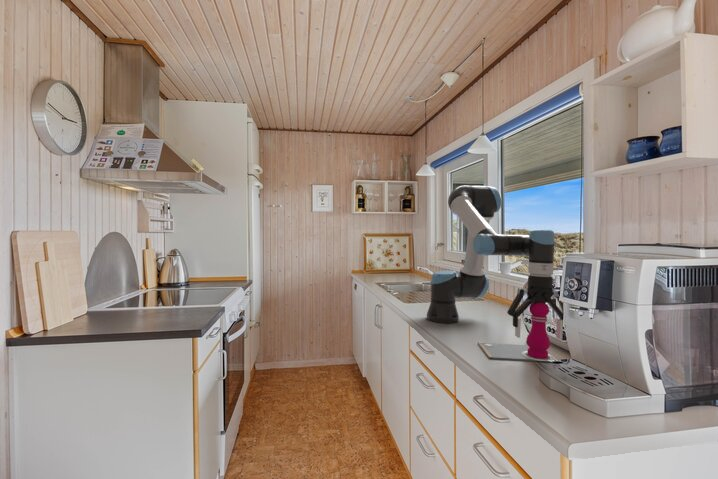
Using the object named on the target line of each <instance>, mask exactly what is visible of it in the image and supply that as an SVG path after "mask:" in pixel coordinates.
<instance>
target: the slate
mask: <svg viewBox="0 0 718 479" xmlns="http://www.w3.org/2000/svg"><path fill="white" fill-rule="evenodd" d="M477 345H478V347H479V348H480V349H481V350H482V351H483V353H484V354H485V356H486V357H487V358H488V359H489V360H497V361H498V360H501V361H504V360H505V361H520V362H536V361H548V360H558V359H557V358H556V357H554V356H553V355H552V354H550V353H549V352H548V358H545V359H540V358H534V357H531V356H529V355H528V348H529V346H528V345H527V344H515V343H514V344H512V343H511V344H510V343H496V342H495V343H494V342H493V343H492V342H477Z"/></svg>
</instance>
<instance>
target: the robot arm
mask: <svg viewBox="0 0 718 479" xmlns="http://www.w3.org/2000/svg"><path fill="white" fill-rule="evenodd" d="M447 205H448V208H449V210H450V211H451V213H452V214H454V215H455V216H457V217H458V218H459V220H460V221H461V223H463V225H464V226H465V228H466V230H467V231H468V234H467V242H466V248H465V256H464V263H463V266H462V267H461V268H460V269H459V273H457V272H456V270H438V271H435V272H433V273H432V275H431V281H430V303H429V306H428V309H427V312H426V319H427V321H430V322H432V323H433V322H434V323H440V324H454V323H458V322H459V321H460V316H459V312H458V309H457V305H456V299H462V298H463V299H469V298H470V299H478V298H483V297H484V296H485V295H486V294H487V293H488V290H489V286H490V285H489V284H490V283H489V277H488V276H487V275H486V272H485V270H484V269H483V268H484V263H485V262H484V261H485V256H513V257H515V256H517V257H519V256H520V257H521V256H522V257H528V268H527V269H528V272H527V273H528V277H527V289H523V288H520V287H519V288H517V292H516V293H517V294H516V295H515V298H514V300H513V301H512V303H511V304H510V306H509V307H508V310H507V313H506V314H508V316H511V317H512V326H513V327H514V329H515V331H514V335H515V337H516V338H519V339H520V338H521V325H522V324H521V322H522V320H521V317H520V316H521V315H522V314H523V313H524V312H525V311H526V310H527V309H528V308H529V307H530V305H531V304H532V303H533V302H535V303H540V302H541V303H546V304H547V305H548V306H550V307H551V309H552V311H553V312H555V314H556V315H557V316H558V318H556V332H555V337H556V338H557V339H559V340H560V341H561V340H563V334H564V333H563V330H565V329H564V327H563V314H564V313H563V303H562V302H561V301H559V296H560V290H561V289H555V290H554V289H553V287H554V286H553V285H554V277H553V275H554V260H555V258H554V257H555V243H556V242H555V231H553V230H552V229H531V230H530V231H529V235H525V234H498V233H496V231H495V230H494V229H493V228H492V227H491V225H490V220H492V219H493V218H494V216H495V213H497V212H499V211H500V209H501V207H502V196H501V193H500V191H499V190H498V189H497V187H495V186H488V185H467V184H466V185H465V184H464V185H460V186H457V187H456V188H455V189H453V190H452V191H451V192H450V194H449V196H448V198H447ZM525 295H528V296H527V297H526V299H525V300H523V298H524V296H525ZM553 296H554V297H555V298H556V300H557V302H558V303H559V304H558V305H559V306H560V308H561V309H560V308H559V307H558V305H556V303H555V302H554V300H553V299H552V297H553ZM522 300H523V302H522V304H520V303H521V301H522Z"/></svg>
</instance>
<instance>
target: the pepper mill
mask: <svg viewBox="0 0 718 479" xmlns="http://www.w3.org/2000/svg"><path fill="white" fill-rule="evenodd" d="M528 308H529V309H528V310H529V312H530V314H531V315H530V320H531V328H530V331H529V332H528V334H527V337H526V342H525V343H526V345H528V346H529V348H528V355H529V356H531V357H534V358H540V359H545V358H548V353H549V351H548V350H549V349H550V347H551V341H550V338H549V335H548V333H547V330H546V324H547V322H548V316H547V315H549V313H550V308H549V304H548V303H547V302H546V303H541V302H540V303H535V302H533V303H532V304H530V305H529V307H528Z"/></svg>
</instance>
